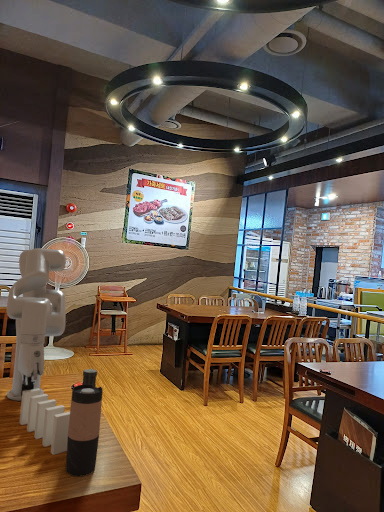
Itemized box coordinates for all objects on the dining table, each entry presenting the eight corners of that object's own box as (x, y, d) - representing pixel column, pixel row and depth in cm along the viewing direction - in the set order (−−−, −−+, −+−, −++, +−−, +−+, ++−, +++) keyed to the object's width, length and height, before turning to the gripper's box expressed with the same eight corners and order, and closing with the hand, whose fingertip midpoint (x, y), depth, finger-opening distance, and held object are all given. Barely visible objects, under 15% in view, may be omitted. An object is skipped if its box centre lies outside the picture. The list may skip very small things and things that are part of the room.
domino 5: (50, 452, 102) (53, 415, 103) (67, 447, 106) (71, 411, 106) (53, 454, 101) (56, 417, 102) (70, 449, 105) (74, 413, 105)
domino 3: (34, 437, 110) (37, 402, 111) (50, 432, 114) (53, 399, 114) (36, 439, 109) (39, 404, 109) (53, 434, 113) (56, 400, 113)
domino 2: (26, 430, 114) (29, 396, 115) (43, 426, 118) (46, 393, 118) (28, 432, 113) (32, 398, 113) (45, 428, 117) (48, 395, 117)
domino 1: (19, 423, 119) (22, 390, 119) (35, 419, 122) (38, 388, 122) (21, 425, 117) (24, 392, 117) (37, 421, 121) (40, 389, 121)
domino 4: (42, 444, 106) (45, 408, 107) (59, 439, 110) (62, 404, 110) (44, 446, 105) (47, 410, 106) (61, 442, 109) (64, 406, 109)
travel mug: (66, 479, 91) (73, 394, 91) (63, 462, 98) (70, 384, 98) (98, 474, 94) (105, 393, 94) (93, 459, 101) (100, 383, 101)
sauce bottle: (88, 445, 108) (94, 375, 108) (68, 441, 109) (74, 372, 110) (98, 435, 114) (104, 369, 115) (79, 432, 116) (85, 366, 116)
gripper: (53, 342, 120) (48, 401, 119) (34, 334, 130) (29, 388, 130) (29, 343, 115) (23, 405, 114) (11, 335, 125) (6, 391, 124)
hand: (26, 396), depth 122 cm, fingers closed
